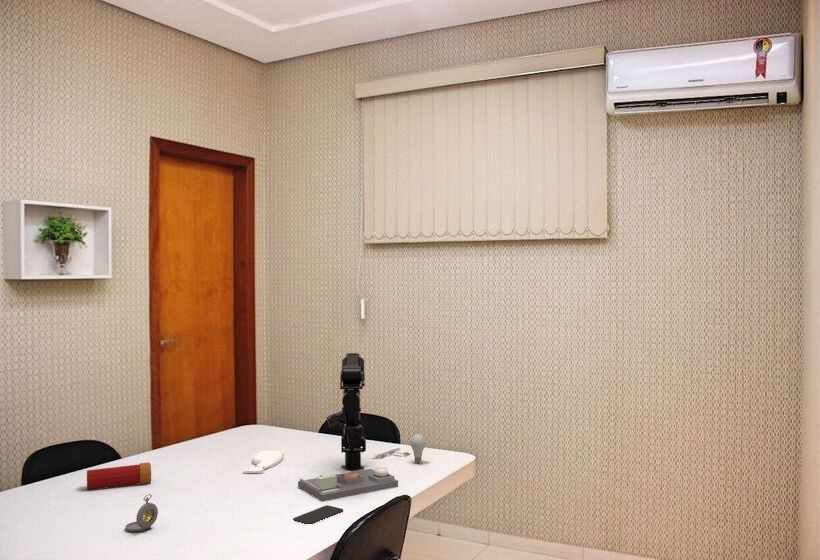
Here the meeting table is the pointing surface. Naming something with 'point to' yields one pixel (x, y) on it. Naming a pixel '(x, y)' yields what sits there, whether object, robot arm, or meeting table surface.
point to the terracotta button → (350, 475)
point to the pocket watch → (141, 523)
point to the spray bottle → (265, 461)
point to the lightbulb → (417, 446)
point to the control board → (349, 485)
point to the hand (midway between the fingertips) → (351, 450)
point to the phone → (318, 514)
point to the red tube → (119, 476)
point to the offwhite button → (381, 471)
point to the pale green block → (327, 482)
